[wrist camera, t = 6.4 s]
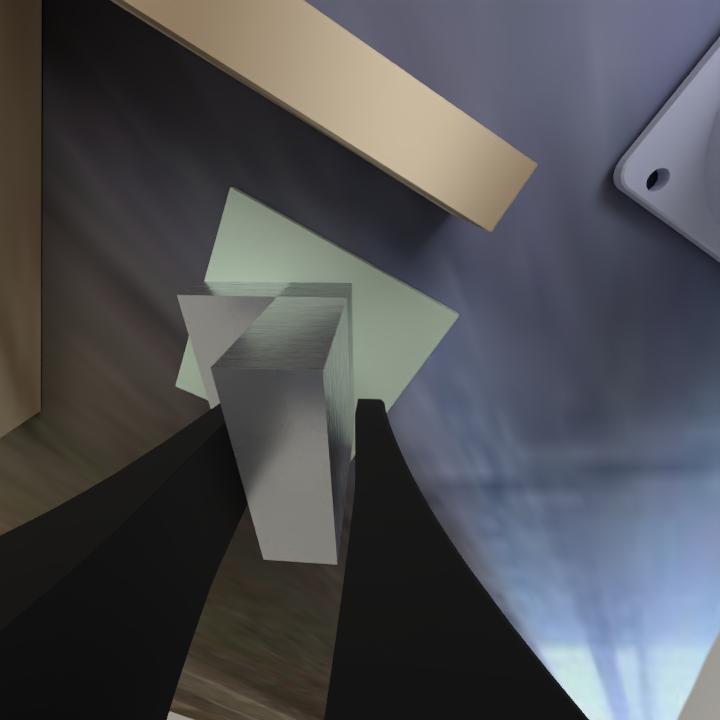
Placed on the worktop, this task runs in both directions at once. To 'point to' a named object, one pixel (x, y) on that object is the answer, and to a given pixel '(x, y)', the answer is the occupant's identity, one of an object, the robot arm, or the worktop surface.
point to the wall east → (20, 211)
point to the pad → (328, 265)
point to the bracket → (282, 402)
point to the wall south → (350, 98)
